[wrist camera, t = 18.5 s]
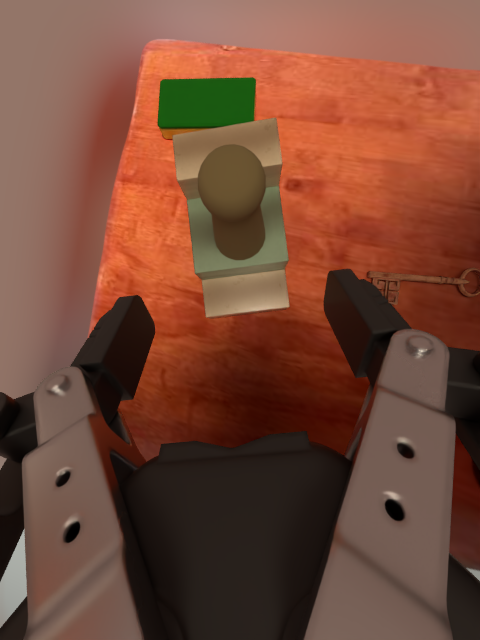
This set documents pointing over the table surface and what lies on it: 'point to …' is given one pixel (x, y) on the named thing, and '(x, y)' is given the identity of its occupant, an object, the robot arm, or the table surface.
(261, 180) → the brown pawn figure
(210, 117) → the dish sponge
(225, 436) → the table surface
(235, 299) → the stepped block
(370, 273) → the key
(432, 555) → the robot arm
